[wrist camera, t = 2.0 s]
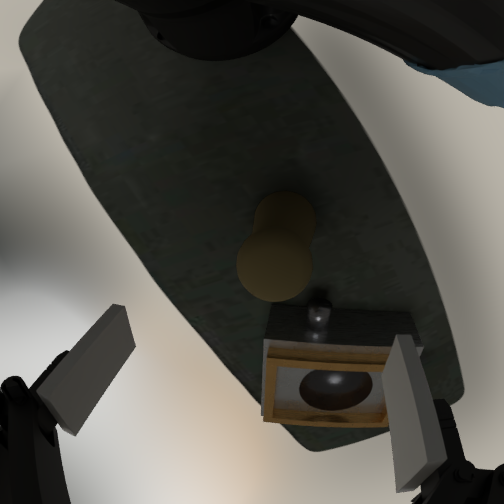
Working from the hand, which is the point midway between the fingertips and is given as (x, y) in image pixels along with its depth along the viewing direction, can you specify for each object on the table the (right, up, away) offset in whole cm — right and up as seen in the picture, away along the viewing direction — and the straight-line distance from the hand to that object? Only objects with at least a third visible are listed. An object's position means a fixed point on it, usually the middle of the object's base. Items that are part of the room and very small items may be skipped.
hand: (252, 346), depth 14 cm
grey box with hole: (+10, -7, +21) cm, 24 cm away
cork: (+3, +7, +16) cm, 18 cm away
